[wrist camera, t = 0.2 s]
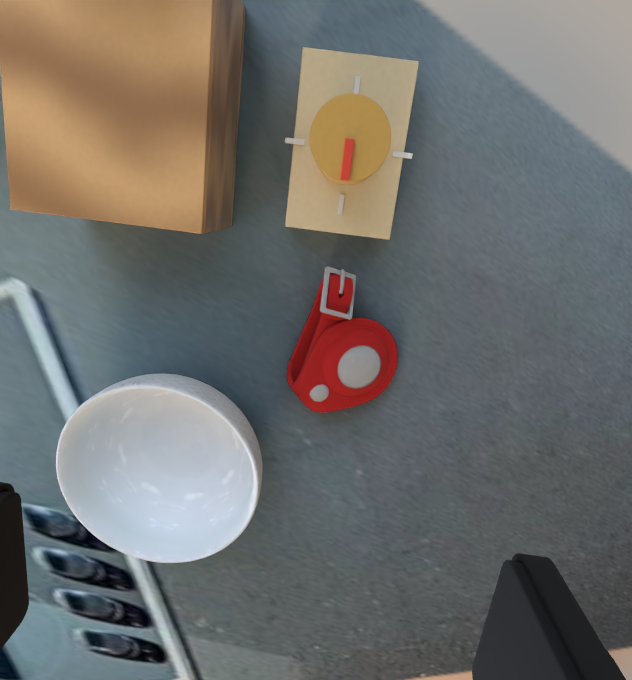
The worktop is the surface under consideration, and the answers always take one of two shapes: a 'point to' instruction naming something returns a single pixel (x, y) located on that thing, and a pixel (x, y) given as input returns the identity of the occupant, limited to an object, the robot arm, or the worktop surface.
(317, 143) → the lock knob
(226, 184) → the chest
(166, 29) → the hinged box cover
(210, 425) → the cereal bowl
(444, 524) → the worktop surface
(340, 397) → the tracker holder
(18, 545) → the robot arm
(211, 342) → the worktop surface
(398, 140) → the lock plate
